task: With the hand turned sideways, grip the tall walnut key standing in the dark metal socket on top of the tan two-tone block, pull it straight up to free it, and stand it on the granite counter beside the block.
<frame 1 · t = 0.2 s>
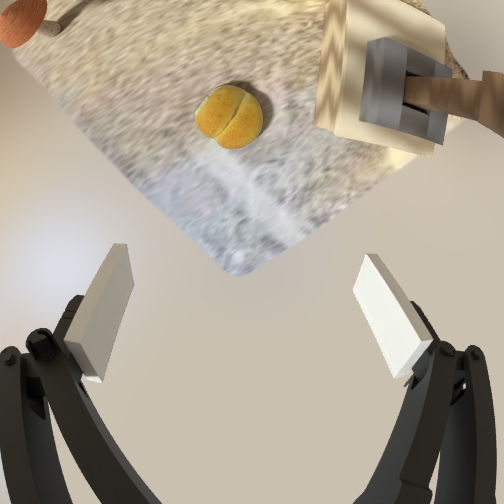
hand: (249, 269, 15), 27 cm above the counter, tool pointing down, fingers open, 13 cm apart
mushroom: (59, 30, 23), on the counter
bread roll: (228, 116, 35), on the counter
key: (399, 91, 25), point 10 cm above the counter, touching tan two-tone block
tan two-tone block: (363, 72, 32), on the counter
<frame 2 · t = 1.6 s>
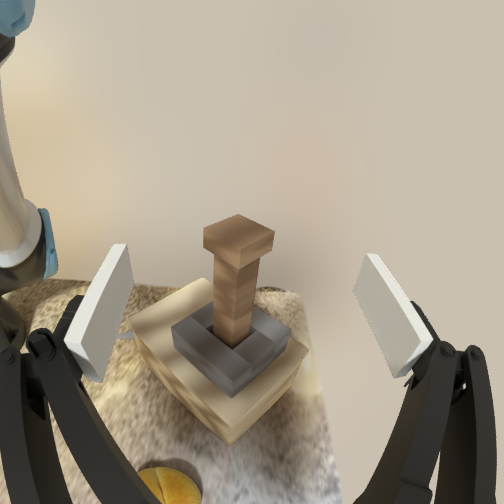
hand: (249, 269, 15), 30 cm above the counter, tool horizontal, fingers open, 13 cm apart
bread roll: (164, 496, 23), on the counter
key: (230, 349, 34), point 10 cm above the counter, touching tan two-tone block
chef's knife: (154, 334, 47), on the counter
tan two-tone block: (213, 376, 41), on the counter
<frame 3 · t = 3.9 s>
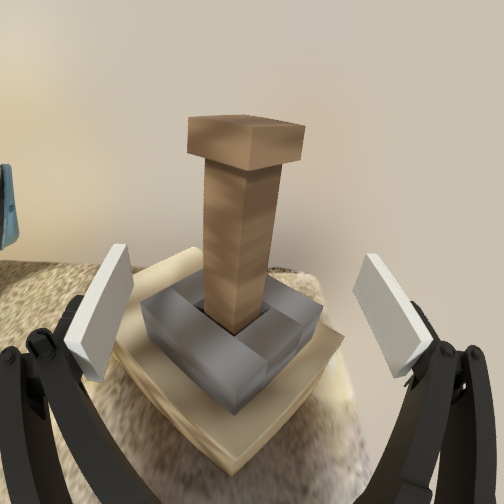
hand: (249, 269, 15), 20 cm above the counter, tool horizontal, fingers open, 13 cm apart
key: (230, 340, 23), point 10 cm above the counter, touching tan two-tone block
tan two-tone block: (208, 379, 30), on the counter
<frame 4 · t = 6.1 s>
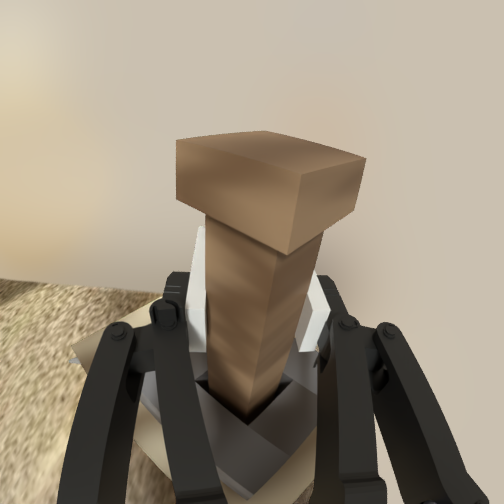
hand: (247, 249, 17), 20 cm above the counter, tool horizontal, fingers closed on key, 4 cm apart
key: (240, 408, 17), point 10 cm above the counter, touching gripper, tan two-tone block
tan two-tone block: (212, 429, 24), on the counter
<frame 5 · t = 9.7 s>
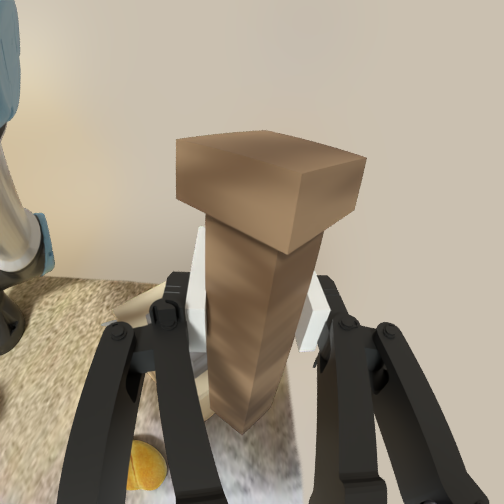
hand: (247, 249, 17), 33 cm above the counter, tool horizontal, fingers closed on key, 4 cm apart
bread roll: (136, 468, 28), on the counter
key: (240, 408, 17), point 23 cm above the counter, touching gripper
tan two-tone block: (189, 363, 45), on the counter
when the fingers open (11 cm above the counter, at t = 13.7 s): key drops 2 cm, on the counter.
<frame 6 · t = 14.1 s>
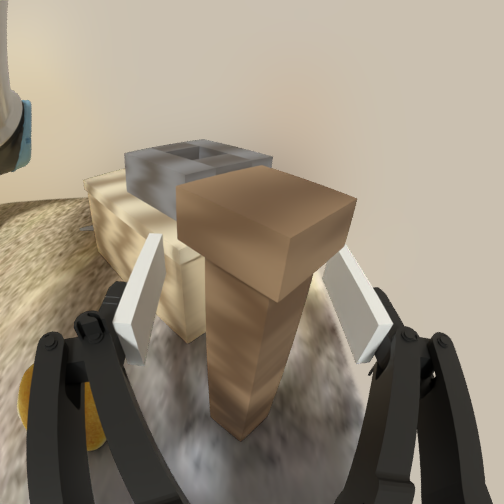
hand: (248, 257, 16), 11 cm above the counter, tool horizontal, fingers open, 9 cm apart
bread roll: (71, 411, 16), on the counter
key: (239, 417, 18), on the counter
tan two-tone block: (180, 264, 33), on the counter
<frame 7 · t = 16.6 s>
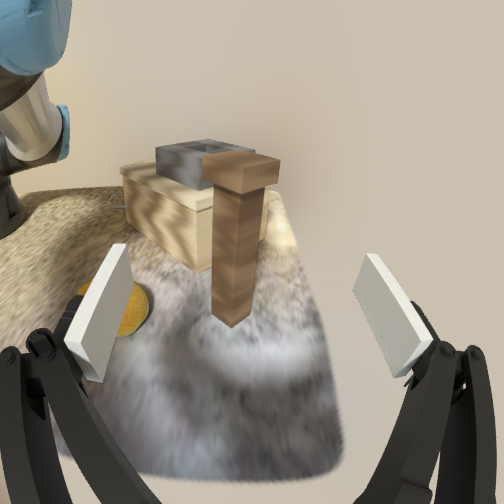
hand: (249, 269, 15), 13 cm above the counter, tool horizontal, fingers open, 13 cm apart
bread roll: (111, 316, 28), on the counter
key: (230, 314, 30), on the counter
tan two-tone block: (191, 229, 46), on the counter
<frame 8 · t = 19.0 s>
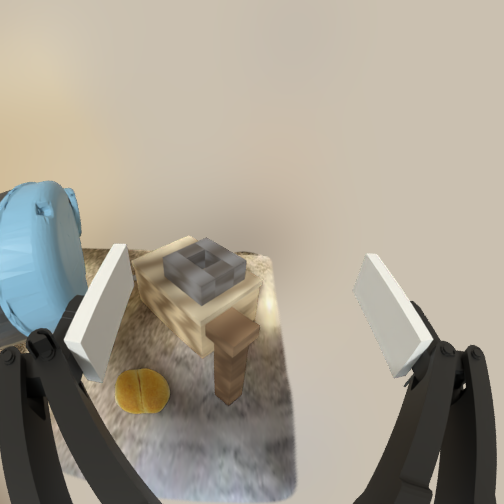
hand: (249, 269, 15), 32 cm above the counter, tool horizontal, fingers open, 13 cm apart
bread roll: (142, 395, 38), on the counter
key: (228, 394, 40), on the counter
tan two-tone block: (195, 310, 55), on the counter
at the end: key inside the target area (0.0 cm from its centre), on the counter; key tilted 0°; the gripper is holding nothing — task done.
